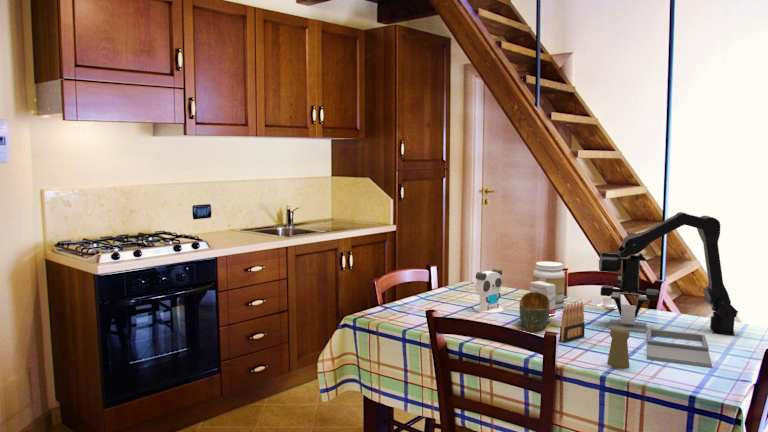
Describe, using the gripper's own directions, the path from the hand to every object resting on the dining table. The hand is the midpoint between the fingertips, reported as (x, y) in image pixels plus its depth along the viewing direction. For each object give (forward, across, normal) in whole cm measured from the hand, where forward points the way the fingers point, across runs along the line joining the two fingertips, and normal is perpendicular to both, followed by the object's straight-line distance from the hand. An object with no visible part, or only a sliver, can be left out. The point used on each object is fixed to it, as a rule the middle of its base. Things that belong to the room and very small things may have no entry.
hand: (628, 316), depth 219 cm
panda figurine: (+4, +50, -2) cm, 50 cm away
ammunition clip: (+4, +16, +24) cm, 29 cm away
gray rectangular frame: (+3, -15, +21) cm, 26 cm away
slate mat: (+3, 0, 0) cm, 3 cm away
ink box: (+4, +30, -4) cm, 31 cm away
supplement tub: (+4, +30, -18) cm, 35 cm away
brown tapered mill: (+4, +1, +44) cm, 44 cm away
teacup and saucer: (+4, +11, -25) cm, 27 cm away
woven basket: (+4, +30, +12) cm, 33 cm away
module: (+2, 0, 0) cm, 2 cm away
